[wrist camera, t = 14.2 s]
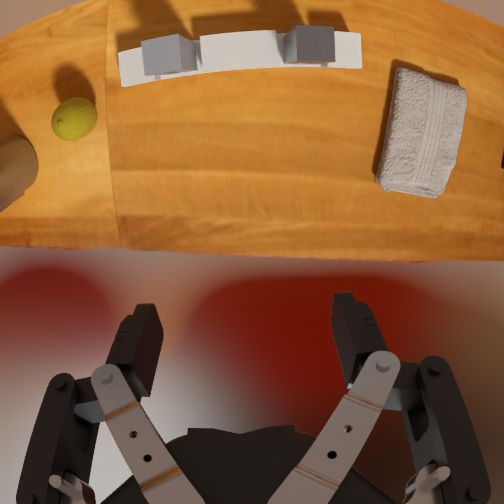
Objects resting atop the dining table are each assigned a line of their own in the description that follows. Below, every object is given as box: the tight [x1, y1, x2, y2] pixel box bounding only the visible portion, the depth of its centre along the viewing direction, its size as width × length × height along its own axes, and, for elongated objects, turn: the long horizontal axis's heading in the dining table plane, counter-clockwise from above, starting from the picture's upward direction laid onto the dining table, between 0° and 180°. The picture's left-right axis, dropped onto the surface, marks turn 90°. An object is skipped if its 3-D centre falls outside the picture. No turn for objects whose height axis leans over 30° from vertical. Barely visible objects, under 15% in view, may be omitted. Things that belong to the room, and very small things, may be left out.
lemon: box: [52, 97, 97, 141], centre depth 32 cm, size 6×6×8 cm
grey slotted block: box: [283, 25, 335, 65], centre depth 28 cm, size 4×4×10 cm
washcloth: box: [375, 67, 467, 199], centre depth 37 cm, size 12×18×3 cm, turn 176°
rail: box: [118, 30, 362, 87], centre depth 28 cm, size 28×4×10 cm, turn 94°
